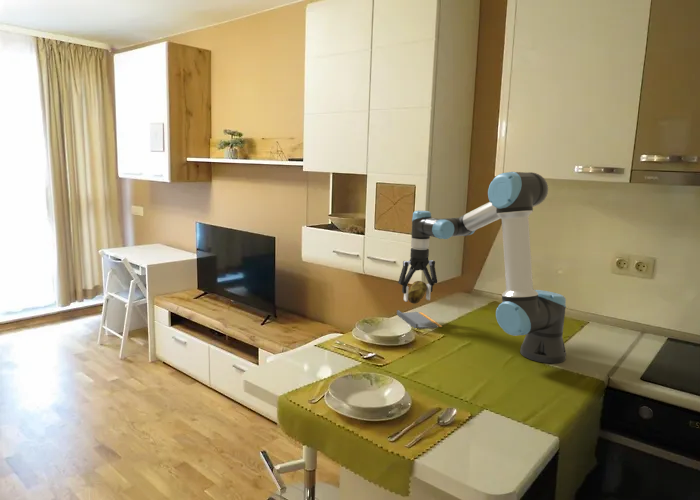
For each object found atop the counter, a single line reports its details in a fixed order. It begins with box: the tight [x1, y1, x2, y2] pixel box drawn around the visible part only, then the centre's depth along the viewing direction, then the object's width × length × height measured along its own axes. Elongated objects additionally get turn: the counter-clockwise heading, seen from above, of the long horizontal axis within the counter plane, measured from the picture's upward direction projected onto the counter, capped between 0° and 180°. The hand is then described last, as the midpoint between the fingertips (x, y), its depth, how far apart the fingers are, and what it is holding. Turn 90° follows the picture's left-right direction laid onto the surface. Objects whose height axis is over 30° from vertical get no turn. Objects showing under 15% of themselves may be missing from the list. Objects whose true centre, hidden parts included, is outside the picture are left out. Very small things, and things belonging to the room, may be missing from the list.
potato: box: [408, 280, 427, 305], centre depth 216 cm, size 8×13×8 cm, turn 143°
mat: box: [396, 309, 439, 330], centre depth 218 cm, size 20×10×2 cm, turn 17°
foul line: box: [418, 311, 443, 328], centre depth 220 cm, size 20×1×1 cm, turn 17°
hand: (416, 300), depth 217 cm, fingers closed on potato, 10 cm apart
